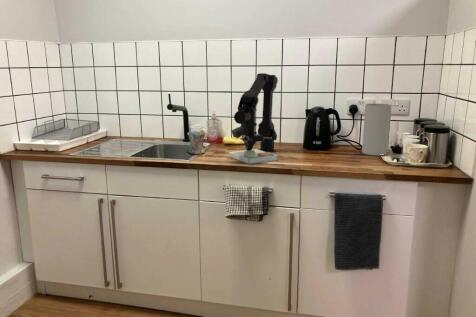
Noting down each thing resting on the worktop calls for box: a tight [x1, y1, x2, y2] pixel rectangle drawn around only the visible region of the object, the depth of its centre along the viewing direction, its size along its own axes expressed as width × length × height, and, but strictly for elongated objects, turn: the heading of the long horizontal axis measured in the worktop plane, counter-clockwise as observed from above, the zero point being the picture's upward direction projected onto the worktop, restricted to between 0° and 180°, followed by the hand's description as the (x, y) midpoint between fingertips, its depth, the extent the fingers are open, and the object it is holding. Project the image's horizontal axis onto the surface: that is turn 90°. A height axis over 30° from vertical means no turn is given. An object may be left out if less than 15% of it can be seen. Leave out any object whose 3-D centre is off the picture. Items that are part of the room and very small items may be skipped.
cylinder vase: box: [361, 103, 393, 157], centre depth 203 cm, size 12×12×25 cm
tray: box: [238, 152, 279, 165], centre depth 191 cm, size 16×9×2 cm, turn 118°
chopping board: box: [228, 148, 264, 161], centre depth 200 cm, size 16×11×2 cm
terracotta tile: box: [258, 152, 273, 157], centre depth 194 cm, size 5×5×2 cm
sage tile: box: [244, 150, 258, 159], centre depth 190 cm, size 5×5×2 cm
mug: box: [187, 131, 206, 155], centre depth 206 cm, size 12×9×11 cm
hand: (248, 153), depth 192 cm, fingers closed
